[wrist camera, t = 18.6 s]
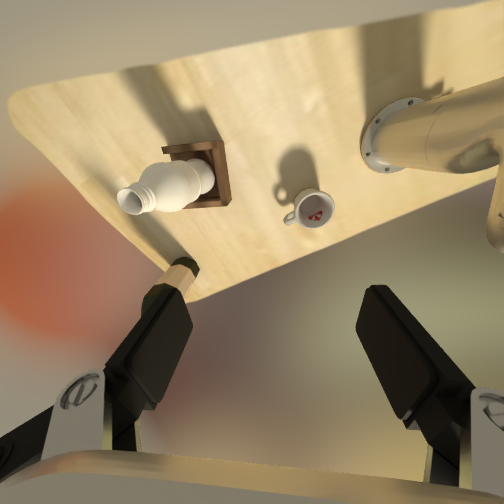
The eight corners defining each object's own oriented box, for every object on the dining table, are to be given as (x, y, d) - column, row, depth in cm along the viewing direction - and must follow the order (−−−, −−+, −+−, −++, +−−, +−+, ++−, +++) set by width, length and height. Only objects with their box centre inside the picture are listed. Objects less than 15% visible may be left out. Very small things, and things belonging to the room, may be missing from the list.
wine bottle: (205, 270, 57) (150, 371, 31) (188, 282, 60) (126, 383, 34) (185, 251, 54) (106, 346, 28) (168, 265, 57) (84, 362, 31)
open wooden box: (223, 142, 39) (216, 140, 34) (231, 199, 45) (226, 206, 40) (170, 147, 41) (155, 147, 35) (184, 203, 47) (174, 209, 41)
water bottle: (181, 177, 42) (90, 204, 21) (197, 150, 39) (108, 150, 18) (206, 197, 44) (146, 242, 23) (223, 173, 41) (172, 199, 20)
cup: (290, 228, 48) (293, 241, 41) (274, 203, 45) (275, 212, 38) (329, 206, 44) (341, 217, 37) (316, 177, 41) (325, 183, 34)
